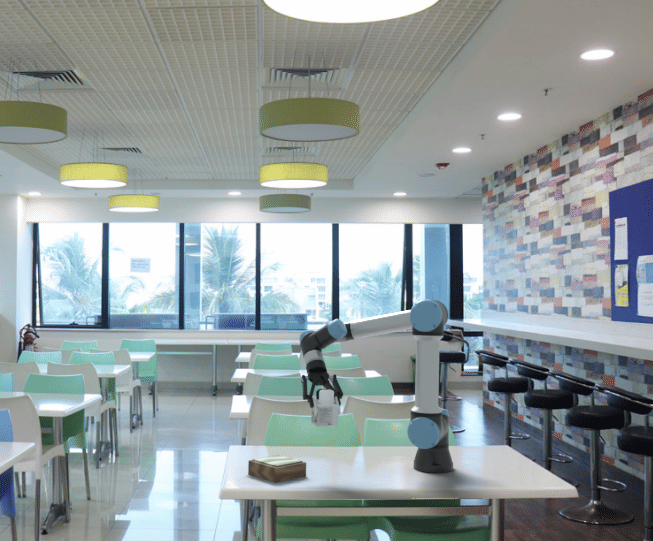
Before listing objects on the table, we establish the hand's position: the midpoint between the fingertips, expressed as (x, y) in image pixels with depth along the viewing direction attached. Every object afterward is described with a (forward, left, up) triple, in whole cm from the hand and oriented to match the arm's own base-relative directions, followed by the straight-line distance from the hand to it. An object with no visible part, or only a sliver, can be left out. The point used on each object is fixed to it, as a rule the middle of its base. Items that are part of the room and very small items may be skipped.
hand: (327, 413), depth 247 cm
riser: (+15, +11, -23) cm, 30 cm away
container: (+3, -1, -5) cm, 6 cm away
